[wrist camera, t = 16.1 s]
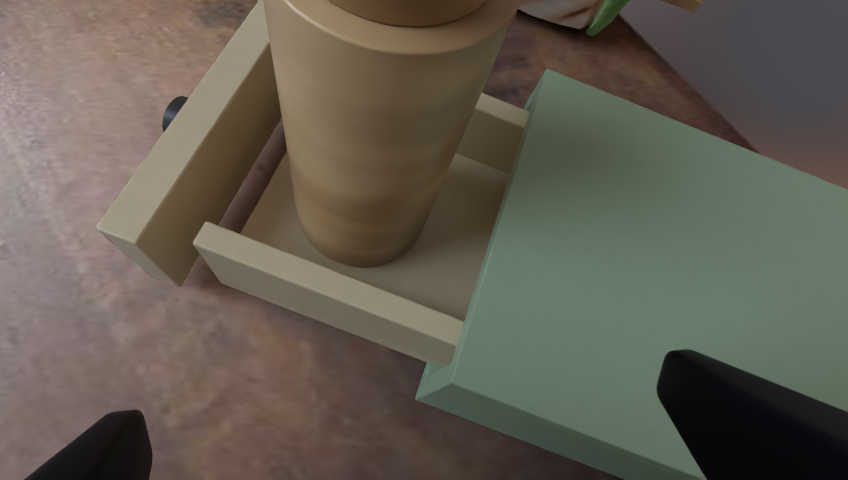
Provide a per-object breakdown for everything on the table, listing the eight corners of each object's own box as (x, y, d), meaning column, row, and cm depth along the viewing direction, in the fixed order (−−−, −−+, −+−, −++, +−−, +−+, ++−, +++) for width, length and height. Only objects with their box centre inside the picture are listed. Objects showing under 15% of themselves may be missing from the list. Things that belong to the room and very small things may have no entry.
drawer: (115, 263, 17) (51, 211, 13) (252, 59, 21) (235, -25, 17) (529, 421, 17) (585, 417, 13) (581, 190, 21) (636, 136, 17)
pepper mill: (351, 294, 17) (407, -135, 4) (270, 194, 18) (114, -406, 5) (450, 219, 18) (697, -237, 6) (372, 132, 19) (444, -425, 7)
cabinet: (414, 399, 17) (449, 382, 12) (494, 156, 22) (546, 67, 17) (796, 545, 18) (995, 591, 13) (796, 276, 23) (940, 226, 17)
